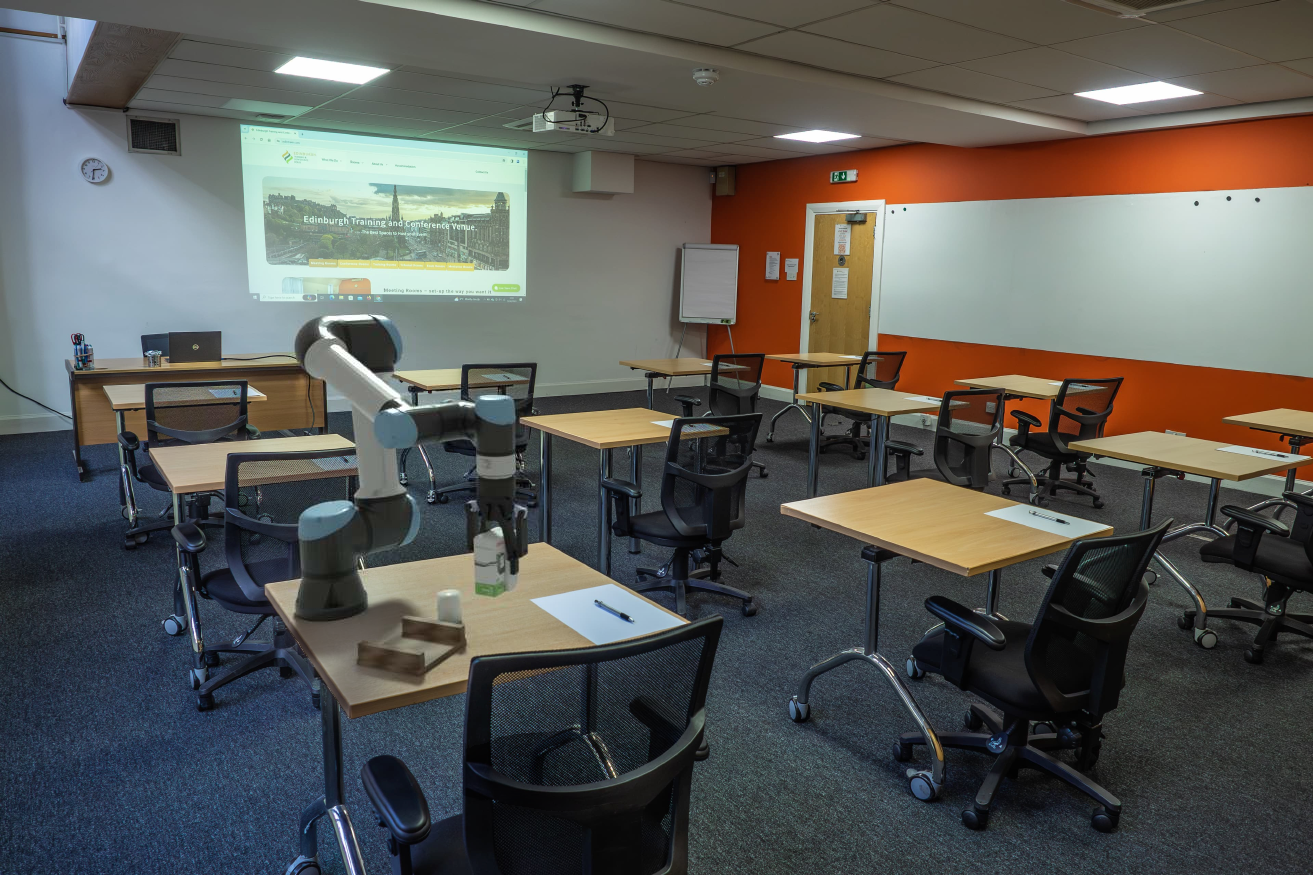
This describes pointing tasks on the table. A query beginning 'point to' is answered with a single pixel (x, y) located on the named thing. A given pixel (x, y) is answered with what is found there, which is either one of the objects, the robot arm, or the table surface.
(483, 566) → the ink box
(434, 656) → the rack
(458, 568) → the table surface
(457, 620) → the white cylinder
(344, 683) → the table surface
